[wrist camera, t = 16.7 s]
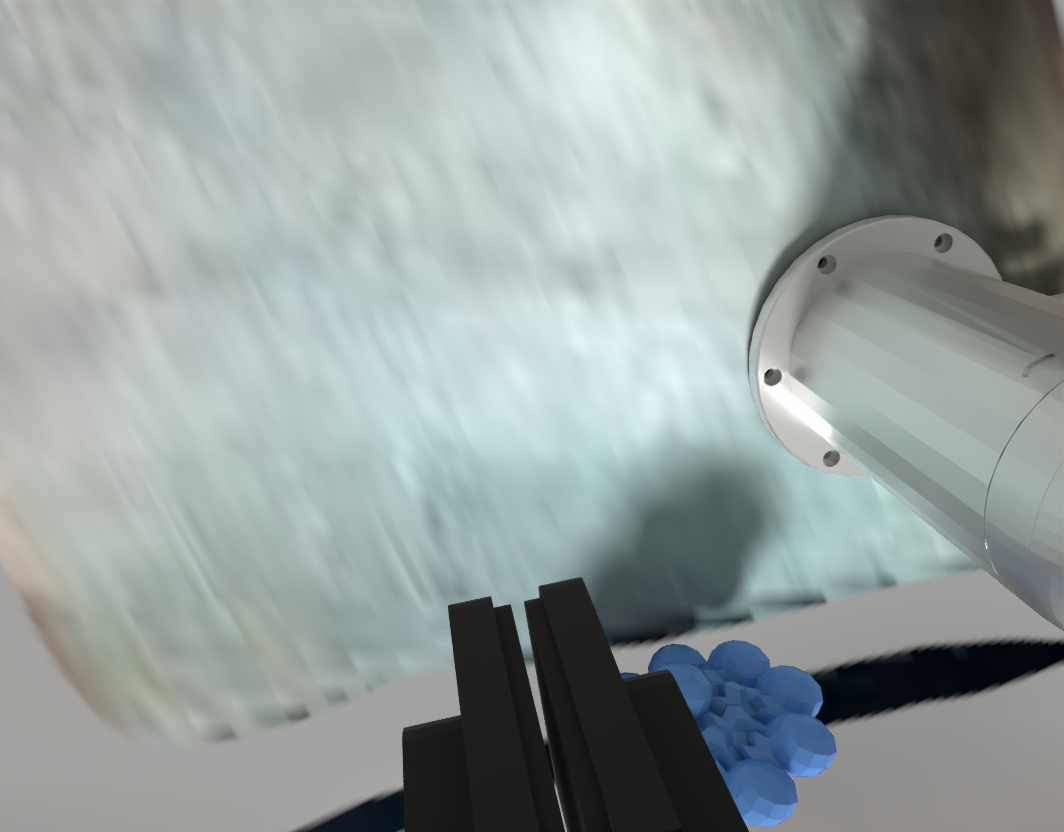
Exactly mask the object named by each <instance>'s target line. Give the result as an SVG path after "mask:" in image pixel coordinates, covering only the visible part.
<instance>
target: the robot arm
mask: <svg viewBox="0 0 1064 832" xmlns="http://www.w3.org/2000/svg"><path fill="white" fill-rule="evenodd" d="M935 240H936V242H935ZM821 258H823V261H822V264H821V265H819V266H818V263H819V261H820V259H821ZM768 369H770V371H769V373H768V374H767V375H765V376H764V374H765V373H766V371H767V370H768ZM749 381H750V386H751V391H752V395H753V400H754V404H755V406H756V408H757V410H758V413H759V415H760V417H761V419H762V422H763V423H764V425H765V426H766V427H767V429H768V430H769V432H770V433H771V434H772V436H773V437H774V438H775V440H776V441H777V442H779V443H780V444H781V445H782V446H783V447H784V448H785V449H786V450H787V451H788V452H789V453H790V454H791V455H793V456H794V457H796V458H797V459H799V460H800V461H802V462H803V463H805V464H806V465H808V466H810V467H812V468H815V469H817V470H819V471H822V472H824V473H828V474H833V475H839V476H845V477H872V478H873V479H874V480H875V481H876V482H878V483H879V484H880V485H881V486H883V487H884V488H885V489H886V490H887V491H889V492H890V493H891V494H892V495H894V496H895V497H896V498H897V499H898V500H900V501H901V502H902V503H903V504H905V505H906V506H907V507H908V508H909V509H911V510H912V511H913V512H914V513H915V514H917V515H918V516H919V517H920V518H922V519H923V520H924V521H925V522H926V523H928V524H929V525H930V526H931V527H933V528H934V529H935V530H936V531H937V532H939V533H940V534H941V535H942V536H944V537H945V538H946V539H947V540H948V541H950V542H951V543H952V544H953V545H954V546H956V547H957V548H958V549H959V550H961V551H962V552H963V553H964V554H965V555H967V556H968V557H969V558H970V559H972V560H973V561H974V562H975V563H976V564H978V565H979V566H980V567H981V568H983V569H984V570H985V571H986V572H987V573H989V574H990V575H991V576H992V577H994V578H995V579H996V580H998V582H1000V583H1001V584H1002V585H1003V586H1005V587H1006V588H1007V589H1008V590H1009V591H1011V592H1012V593H1014V594H1015V595H1016V596H1017V597H1018V598H1019V599H1021V600H1022V601H1023V602H1024V603H1026V604H1027V605H1028V606H1029V607H1031V608H1032V609H1033V610H1034V611H1036V612H1037V613H1038V614H1039V615H1041V616H1042V617H1043V618H1045V619H1046V620H1047V621H1049V622H1050V623H1052V624H1053V625H1055V626H1056V627H1058V628H1060V629H1061V630H1063V631H1064V293H1062V294H1057V295H1052V296H1047V295H1044V294H1041V293H1038V292H1035V291H1032V290H1029V289H1026V288H1023V287H1020V286H1017V285H1014V284H1011V283H1008V282H1005V281H1002V277H1001V276H1000V274H999V272H998V270H997V269H996V267H995V265H994V263H993V261H992V260H991V258H990V257H989V256H988V255H987V253H986V252H985V251H984V250H983V249H982V248H981V247H980V246H979V245H978V244H977V243H976V241H974V240H973V239H971V238H970V237H968V236H967V235H965V234H964V233H962V232H961V231H959V230H958V229H956V228H954V227H951V226H948V225H945V224H943V223H940V222H937V221H935V220H930V219H926V218H921V217H917V216H910V215H885V216H880V217H874V218H868V219H863V220H860V221H858V222H855V223H853V224H850V225H847V226H845V227H842V228H840V229H837V230H836V231H834V232H832V233H831V234H829V235H827V236H826V237H824V238H823V239H821V240H819V241H818V242H816V243H814V244H813V245H812V246H811V247H810V248H809V249H807V250H806V251H805V252H804V253H803V254H802V255H801V256H799V257H798V258H797V259H796V260H795V261H794V262H793V263H792V264H791V265H790V267H789V268H788V269H787V270H786V271H785V273H784V274H783V275H782V276H781V278H780V279H779V280H778V281H777V282H776V284H775V286H774V287H773V289H772V291H771V293H770V294H769V296H768V298H767V300H766V301H765V303H764V305H763V307H762V309H761V312H760V315H759V317H758V320H757V323H756V326H755V328H754V331H753V337H752V342H751V348H750V353H749ZM539 596H540V598H537V599H532V600H528V601H524V605H525V611H526V617H527V623H528V629H529V634H530V640H531V646H532V651H533V657H534V663H535V668H536V674H537V680H538V685H539V691H540V696H541V702H542V708H543V714H544V720H545V725H546V731H547V737H548V742H549V748H550V754H551V759H552V765H553V771H554V776H555V781H556V786H557V790H558V795H559V799H560V803H561V808H562V812H563V816H564V820H565V824H566V828H567V832H749V831H748V829H747V827H746V824H745V822H744V820H743V818H742V816H741V814H740V812H739V810H738V808H737V806H736V804H735V802H734V800H733V798H732V795H731V793H730V791H729V789H728V787H727V785H726V783H725V781H724V779H723V777H722V775H721V773H720V771H719V769H718V767H717V764H716V762H715V760H714V758H713V756H712V754H711V752H710V750H709V748H708V746H707V744H706V742H705V740H704V738H703V736H702V734H701V731H700V729H699V727H698V725H697V723H696V721H695V719H694V717H693V715H692V713H691V711H690V709H689V707H688V705H687V703H686V700H685V698H684V696H683V694H682V692H681V690H680V688H679V686H678V684H677V682H676V680H675V678H674V676H673V675H672V673H671V672H670V671H669V670H668V669H665V670H661V671H656V672H652V673H647V674H643V675H638V676H634V677H629V678H625V679H622V677H621V674H620V672H619V669H618V667H617V664H616V662H615V659H614V656H613V654H612V652H611V649H610V646H609V644H608V641H607V639H606V636H605V634H604V631H603V629H602V626H601V624H600V621H599V619H598V616H597V614H596V611H595V609H594V606H593V604H592V601H591V598H590V596H589V593H588V591H587V588H586V586H585V583H584V581H583V579H582V578H581V577H579V578H574V579H570V580H565V581H560V582H556V583H551V584H546V585H541V586H539ZM448 612H449V620H450V628H451V637H452V645H453V653H454V662H455V670H456V678H457V686H458V695H459V703H460V711H461V715H459V716H455V717H451V718H446V719H441V720H437V721H432V722H428V723H424V724H420V725H415V726H411V727H406V728H404V729H403V736H402V747H403V782H404V819H405V832H565V829H564V825H563V821H562V817H561V812H560V808H559V804H558V800H557V796H556V792H555V787H554V783H553V779H552V775H551V771H550V766H549V762H548V758H547V754H546V750H545V746H544V741H543V737H542V734H541V729H540V725H539V721H538V717H537V712H536V708H535V704H534V700H533V696H532V692H531V688H530V683H529V679H528V675H527V671H526V667H525V662H524V658H523V654H522V650H521V646H520V642H519V637H518V633H517V629H516V625H515V621H514V617H513V612H512V608H511V605H510V604H509V605H504V606H500V607H495V608H493V603H492V599H491V596H490V597H485V598H480V599H475V600H471V601H466V602H461V603H457V604H452V605H448Z"/></svg>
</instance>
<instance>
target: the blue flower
mask: <svg viewBox="0 0 1064 832" xmlns="http://www.w3.org/2000/svg"><path fill="white" fill-rule="evenodd" d="M665 669H668V670H669V671H670V672H671V673H672V675H673V676H674V678H675V680H676V682H677V684H678V686H679V688H680V690H681V692H682V694H683V696H684V698H685V700H686V703H687V705H688V707H689V709H690V711H691V713H692V715H693V717H694V719H695V721H696V723H697V725H698V727H699V729H700V731H701V734H702V736H703V738H704V740H705V742H706V744H707V746H708V748H709V750H710V752H711V754H712V756H713V758H714V760H715V762H716V764H717V767H718V769H719V771H720V773H721V775H722V777H723V779H724V781H725V783H726V785H727V787H728V789H729V791H730V793H731V795H732V798H733V800H734V802H735V804H736V806H737V808H738V810H739V812H740V814H741V816H742V818H743V820H744V822H745V823H746V824H748V825H751V826H769V827H771V826H772V827H773V826H775V825H777V824H779V823H781V822H782V821H784V820H785V819H787V818H789V817H790V816H791V815H792V814H793V811H794V809H795V807H796V805H797V802H798V801H797V794H796V787H795V783H794V781H793V780H792V779H791V778H790V776H796V777H813V776H815V775H817V774H819V773H821V772H823V771H824V770H825V769H827V768H828V767H830V766H831V764H832V762H833V760H834V757H835V755H836V753H837V752H836V745H835V740H834V736H833V735H832V733H831V732H830V731H829V730H828V729H827V728H826V726H825V725H824V724H823V723H822V722H821V721H820V720H818V719H816V718H814V716H815V715H817V714H818V712H819V709H820V707H821V705H822V702H823V698H822V692H821V687H820V686H819V685H818V683H817V682H816V681H815V680H814V679H813V678H812V677H811V676H810V674H809V673H807V672H805V671H802V670H800V669H798V668H796V667H793V666H783V665H780V666H777V667H773V668H770V662H769V659H768V658H767V656H766V655H765V654H764V653H763V652H762V651H761V650H760V648H758V647H756V646H754V645H752V644H749V643H748V642H745V641H735V640H732V641H728V642H724V643H722V644H719V645H718V646H717V647H716V648H715V649H714V650H713V651H712V652H711V654H710V656H709V659H708V661H706V660H705V659H704V658H703V656H702V655H701V654H700V653H699V651H697V650H695V649H693V648H690V647H688V646H686V645H679V644H671V645H667V646H664V647H662V648H660V649H659V650H658V651H657V652H656V653H655V654H654V655H653V657H652V659H651V662H650V664H649V666H648V671H649V673H652V672H656V671H661V670H665ZM620 674H621V677H622V679H625V678H629V677H634V676H638V675H639V674H636V673H620Z"/></svg>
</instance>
